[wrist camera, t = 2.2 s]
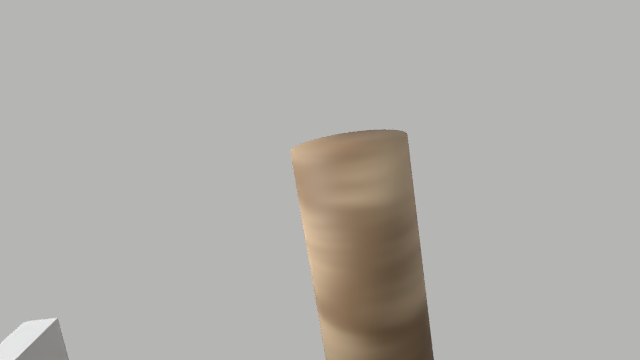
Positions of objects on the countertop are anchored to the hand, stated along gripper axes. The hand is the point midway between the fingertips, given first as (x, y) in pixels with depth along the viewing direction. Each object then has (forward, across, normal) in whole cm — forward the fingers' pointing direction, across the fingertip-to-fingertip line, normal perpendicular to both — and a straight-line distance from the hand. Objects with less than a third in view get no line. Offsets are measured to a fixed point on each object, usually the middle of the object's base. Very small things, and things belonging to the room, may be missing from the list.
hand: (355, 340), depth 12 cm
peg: (+10, +1, -13) cm, 17 cm away
